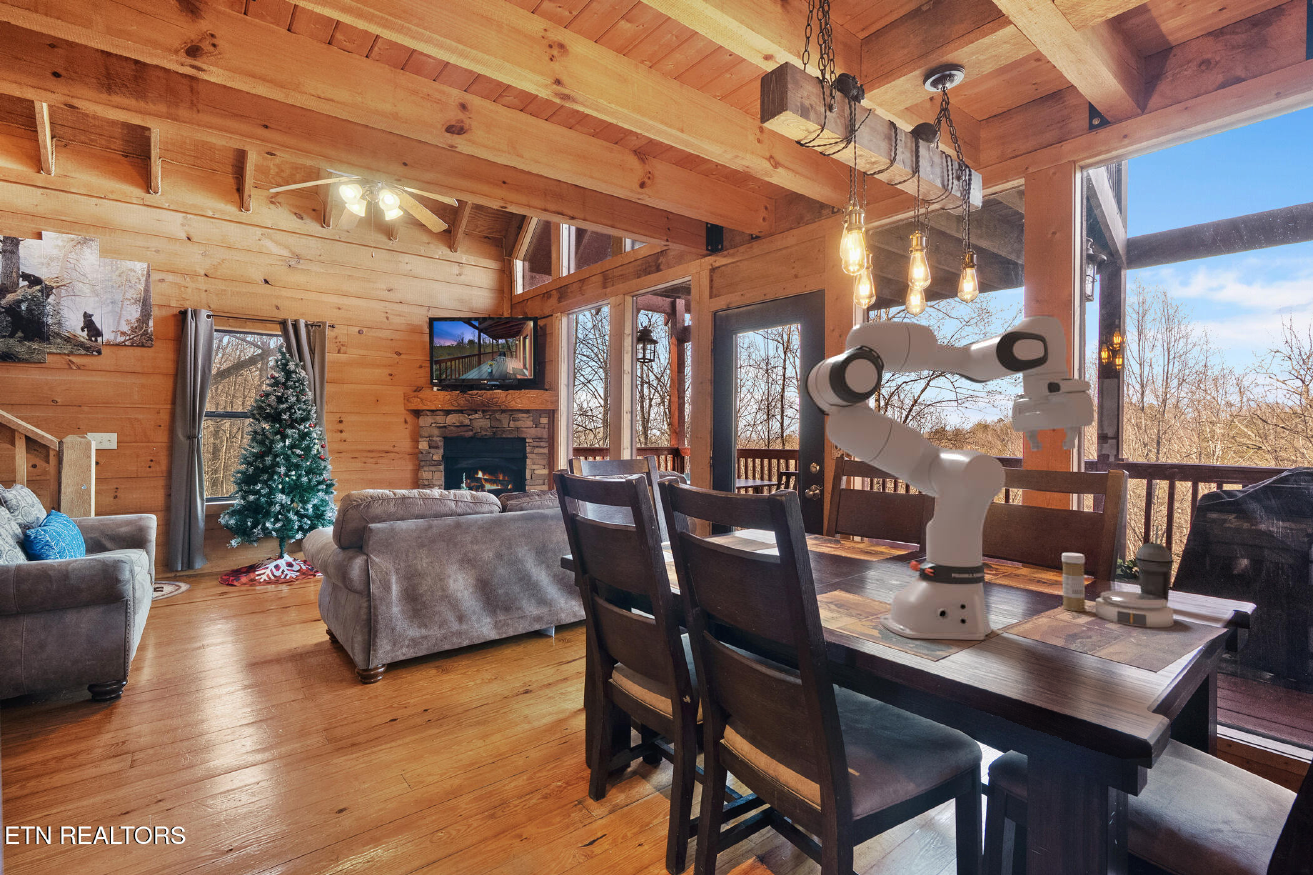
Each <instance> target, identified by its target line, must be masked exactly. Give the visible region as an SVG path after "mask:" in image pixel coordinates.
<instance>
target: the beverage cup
mask: <svg viewBox="0 0 1313 875" xmlns="http://www.w3.org/2000/svg"><path fill="white" fill-rule="evenodd" d="M1154 534H1155V535H1154V542H1148V543H1145V544H1143V545H1141V546H1140V547H1139V548H1138V549H1137V551H1136V554H1135V555H1136V556H1135V560H1136V561H1135V562H1136V566H1137V570H1138V576H1139V586H1140V593H1142V594H1148V595H1152V596H1156V597H1160V598H1163V599H1165V600H1166V601H1167V604H1168V603H1169V596H1170V595H1169V594H1170V593H1169V592H1170V585H1171V584H1170V583H1171V575H1172V569H1173V564H1174V562H1175V561H1174V557H1173V555H1172V553H1171V551H1170V550H1169V549H1168V548H1167V547H1166V546H1165V545H1163V544H1161V543H1159V542H1158V538H1159V525H1157V524H1156V525H1155V533H1154Z"/></svg>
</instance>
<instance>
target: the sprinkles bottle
mask: <svg viewBox="0 0 1313 875" xmlns="http://www.w3.org/2000/svg"><path fill="white" fill-rule="evenodd" d="M1061 561H1062V562H1061V563H1062V595H1063V599H1062V600H1063V603H1062V604H1063V605H1062V608H1063V609H1064V610H1066V611H1071V612H1076V613H1077V612H1078V613H1079V612H1085V611H1086V607H1085V606H1086V605H1085V604H1086V600H1085V599H1086V598H1085V597H1086V593H1085V592H1086V590H1085V589H1086V588H1085V587H1086V586H1085V562H1086V558H1085V555H1084V554H1082V553H1077V552H1062V554H1061Z"/></svg>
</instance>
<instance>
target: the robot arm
mask: <svg viewBox="0 0 1313 875" xmlns="http://www.w3.org/2000/svg"><path fill="white" fill-rule="evenodd" d="M1067 355H1068V347H1067V339H1066V335H1065V330H1064V326H1063V325H1062V322H1061V320H1060V319H1059V318H1057V317H1055V316H1052V315H1045V314H1043V315H1042V314H1041V315H1033V316H1032V315H1031V316H1028V317H1025V318H1023V319H1022V320H1021V322H1020V323H1018V324H1017V325H1015V326H1014V327H1012V328H1010V329H1008V330H1006V331H1004V332H1001V333H999V334H997V335H994V336H990V337H988V338H985V339H981V340H978V341H973V342H970V343H967V344H965V345H963V346H957V345H956V346H955V345H954V346H953V345H947V344H946V345H945V344H938V340H937V337H936V334H935V333H934V331H933V330H932V329H931V328H930V326H928V325H924V324H921V323H917V322H911V321H902V320H901V321H895V320H881V321H880V320H879V321H867V322H863V323H862V322H861V323H859V324H857V325H855V326H853V327H852V328H851V329H850V331H849V333H848V334H847V337H846V339H845V349H844V352H842V353H840V354H838V355H834V356H830V357H828V358H826V359H824V360H822V361H819V362H817V363H816V364H814V365H813V366H812V367H811V368H810V369H809V370H808V372H807V373H806V375H805V377H804V381H803V386H804V393H805V394H806V396H807V397H808V399H809V400H810V401H811V403H813V405H815V407H816V408H817V409H818V412H820V414H821V415H822V416H826V417H828V419H827V422H826V427H825V428H826V430H825V432H826V436H827V438H828V439H829V442H831V443H832V444H834V445H835V446H836V447H837V448H840V449H841V450H842V451H843V452H845V453H846V454H849V455H850V456H851V457H854V458H855V459H858V460H860V461H863V462H864V463H866V464H869V465H870V466H873V467H875V468H876V469H877V468H878V469H880V470H881V471H883V472H886V473H889V474H890V475H892V476H894V477H896V478H898V479H900V480H901V481H903V482H904V483H906V484H907V485H908V486H911V488H914V489H916V490H917V491H919V492H921V493H923V494H925V495H927V496H929V497H933V498H938V501H937V506H936V509H935V512H934V515H933V517H932V518H931V520H929V522H927V525H926V527H925V532H926V534H925V538H926V540H925V541H926V542H925V543H926V544H925V545H926V546H925V547H926V548H925V549H926V552H925V553H926V559H925V560H924V562H922V564H921V563H919V562H917V561H913V560H912V561H911V562H910V563H909V569H910V570H911V571H914V572H918V577H917V578H916V579H915V580H912V581H911V583H909V584H908V585H906V587H904V588H903V589H901V590H900V591H898V592H897V593H895V595H894V596H893V598H892V601H891V605H890V606H891V607H890V614H882V615H881V616H880V624H881V625H882V626H883V627H885V628H886V629H887V630H889V631H890V632H893V633H895V634H897V635H899V636H902V637H906V638H910V639H928V640H929V639H930V640H931V639H933V640H935V639H936V640H965V641H966V640H969V641H970V640H972V641H983V640H985V639H986V635H989V634H991V632H992V626H991V624H990V621H989V617H988V613H987V608H986V600H985V595H984V594H985V593H984V587H985V580H986V578H985V576H986V575H985V574H986V573H985V572H986V571H985V565H984V563H983V530H984V523H985V520H986V516H987V513H988V510H989V508H990V505H991V503H992V501H993V500H994V499H995V497H997V496H998V495H999V494H1000V493H1001V492H1002V490H1003V488H1004V486H1005V483H1006V472H1005V468H1004V466H1003V464H1002V463H1001V462H1000V460H998V459H997V458H996V457H995V456H992V455H990V454H988V453H986V452H985V453H984V452H982V451H979V450H974V449H951V448H947V447H943V446H939V445H937V444H935V443H933V442H932V441H930V440H929V439H927V438H926V437H925V436H924V435H923V433H922V432H921V431H920V430H918V429H916V428H914V427H912V426H910V425H908V424H905V423H903V422H900V421H899V420H897V419H895V418H892V417H890V416H888V415H885V414H884V413H882V412H880V411H878V410H877V411H876V410H875V409H874V408H873V407H871V406H870V405H869V404H868V402H867V400H869V399H871V398H872V397H873V396H874V395H875V394H876V392H878V390H879V389H880V386H881V383H882V380H883V379H882V378H883V372H887V373H889V372H890V373H906V374H907V373H919V372H924V371H928V372H929V371H930V372H937V373H947V374H952V375H953V374H954V375H957V376H959V377H961V378H962V379H965V380H967V381H969V382H971V383H974V384H983V383H987V382H991V381H993V380H997V379H1002V378H1006V377H1010V376H1015V375H1018V374H1022V384H1023V392H1019V393H1018V394H1016V396H1015V397H1014V399H1013V403H1012V407H1011V408H1012V409H1011V428H1012V429H1013V431H1014V432H1016V433H1020V432H1021V433H1022V432H1025V433H1024V434H1025V437H1026V439H1027V441H1028V442H1029V445H1030V450H1031V451H1032V452H1033V451H1035V452H1037V451H1042V450H1043V443H1042V442H1040V441H1039V439H1038V435H1039V432H1038V431H1047V430H1055V429H1056V430H1057V429H1064V433H1065V434H1066V436H1065V440H1063V441H1062V442H1061V443H1062V449H1064V450H1074V449H1075V448H1076V440H1077V437H1078V435H1079V427H1081V428H1082V427H1091V425H1092V424H1093V423H1094V421H1095V412H1094V411H1095V410H1094V404H1093V399H1092V395H1091V393H1089V391H1090V390H1091V382H1090V381H1088V380H1083V379H1079V378H1074V377H1070V371H1069V368H1068V366H1067V362H1066V361H1067Z"/></svg>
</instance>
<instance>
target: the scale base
mask: <svg viewBox="0 0 1313 875" xmlns="http://www.w3.org/2000/svg"><path fill="white" fill-rule="evenodd" d="M1095 615H1096V616H1097V617H1098V618H1101V619H1104V620H1107V621H1110V622H1113V623H1116V624H1117V623H1118V624H1123V625H1128V626H1134V627H1143V628H1169V627H1172V626H1174V609H1173V607H1171V606H1169V605H1167V607H1166V608H1163V609H1142V608H1132V607H1126V606H1120V605H1115V604H1112V603H1108V602H1105V601H1103V600H1102V599H1101V597H1098V598H1096V599H1095Z"/></svg>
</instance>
